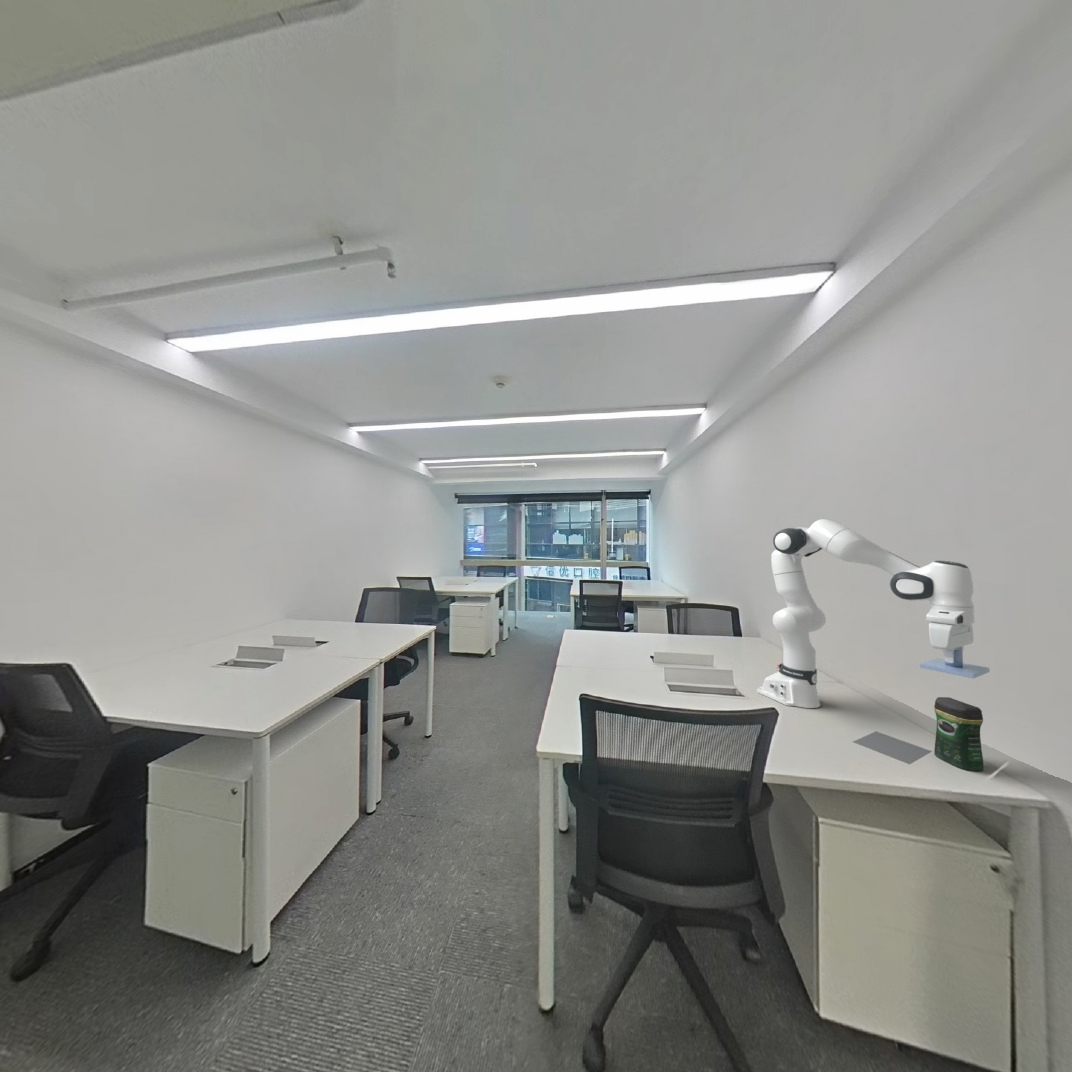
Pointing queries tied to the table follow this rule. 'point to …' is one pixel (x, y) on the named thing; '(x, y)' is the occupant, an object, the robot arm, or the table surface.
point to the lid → (955, 666)
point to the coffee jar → (958, 734)
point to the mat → (892, 747)
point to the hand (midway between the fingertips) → (953, 661)
